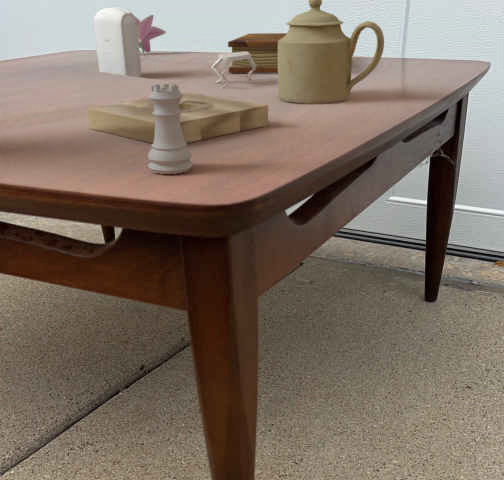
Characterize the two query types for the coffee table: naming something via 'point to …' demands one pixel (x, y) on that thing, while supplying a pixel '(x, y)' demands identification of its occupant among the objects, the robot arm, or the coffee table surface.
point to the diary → (257, 52)
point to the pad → (191, 119)
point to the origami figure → (233, 57)
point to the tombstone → (117, 42)
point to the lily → (147, 32)
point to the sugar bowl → (320, 58)
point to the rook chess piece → (168, 132)
